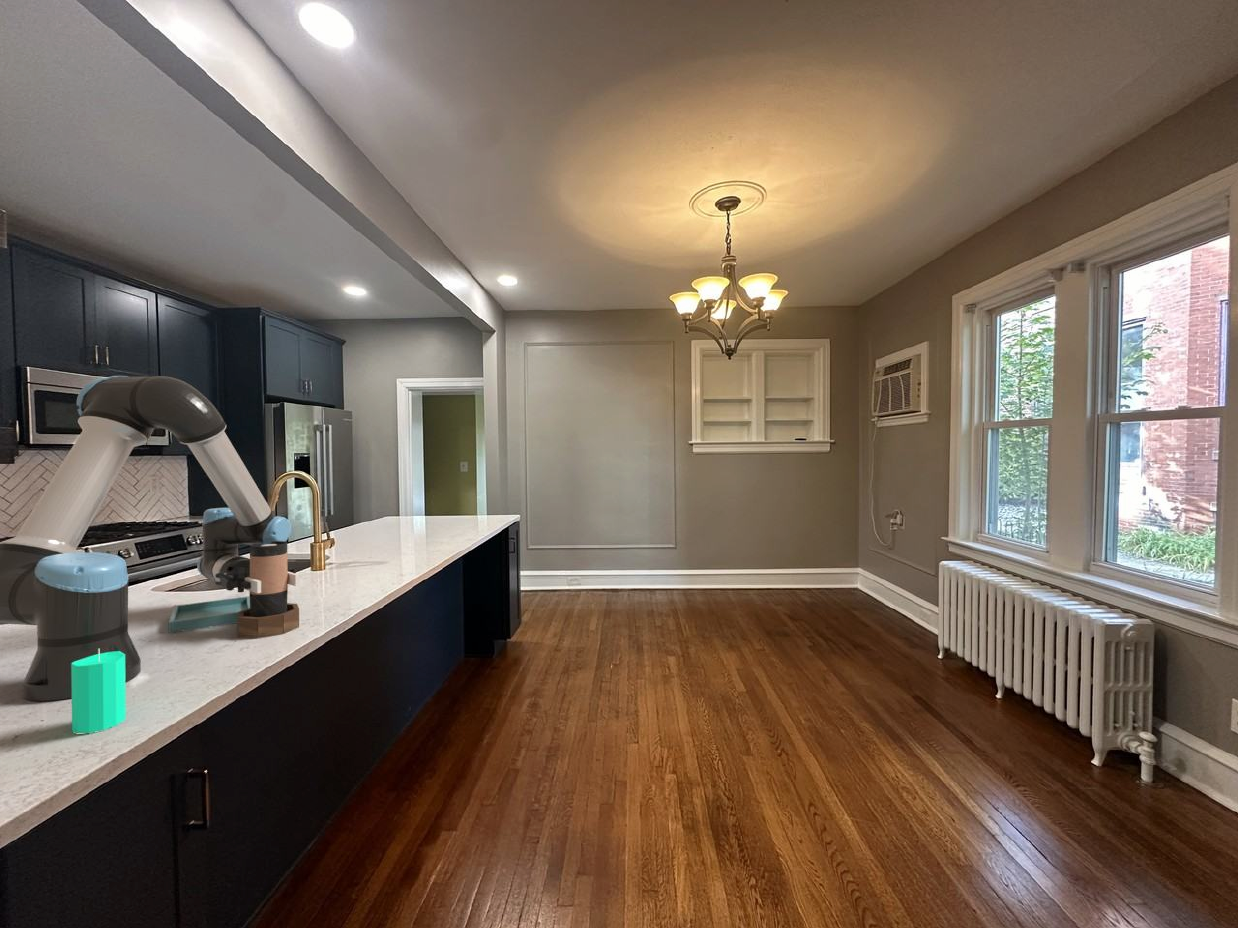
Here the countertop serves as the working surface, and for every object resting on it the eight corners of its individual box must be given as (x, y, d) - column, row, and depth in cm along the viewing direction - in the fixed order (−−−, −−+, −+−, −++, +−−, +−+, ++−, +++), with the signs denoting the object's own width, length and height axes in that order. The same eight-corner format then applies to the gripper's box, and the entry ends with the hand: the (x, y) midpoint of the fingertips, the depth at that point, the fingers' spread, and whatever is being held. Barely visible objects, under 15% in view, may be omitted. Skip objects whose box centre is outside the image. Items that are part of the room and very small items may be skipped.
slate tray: (168, 632, 122) (168, 622, 122) (174, 615, 135) (174, 605, 135) (252, 620, 132) (252, 610, 132) (250, 605, 144) (250, 596, 144)
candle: (75, 739, 77) (74, 659, 77) (69, 726, 81) (68, 649, 81) (130, 722, 82) (129, 647, 82) (121, 711, 86) (120, 638, 85)
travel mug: (273, 631, 122) (273, 546, 121) (241, 631, 122) (241, 546, 121) (294, 621, 129) (294, 541, 129) (264, 620, 129) (264, 540, 129)
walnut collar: (238, 641, 117) (238, 621, 117) (237, 626, 127) (237, 608, 127) (300, 630, 124) (300, 612, 124) (295, 617, 134) (295, 600, 134)
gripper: (279, 577, 144) (322, 590, 131) (187, 593, 127) (228, 609, 114) (279, 550, 144) (322, 560, 131) (187, 563, 127) (228, 575, 114)
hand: (278, 583), depth 123 cm, fingers closed on travel mug, 7 cm apart
